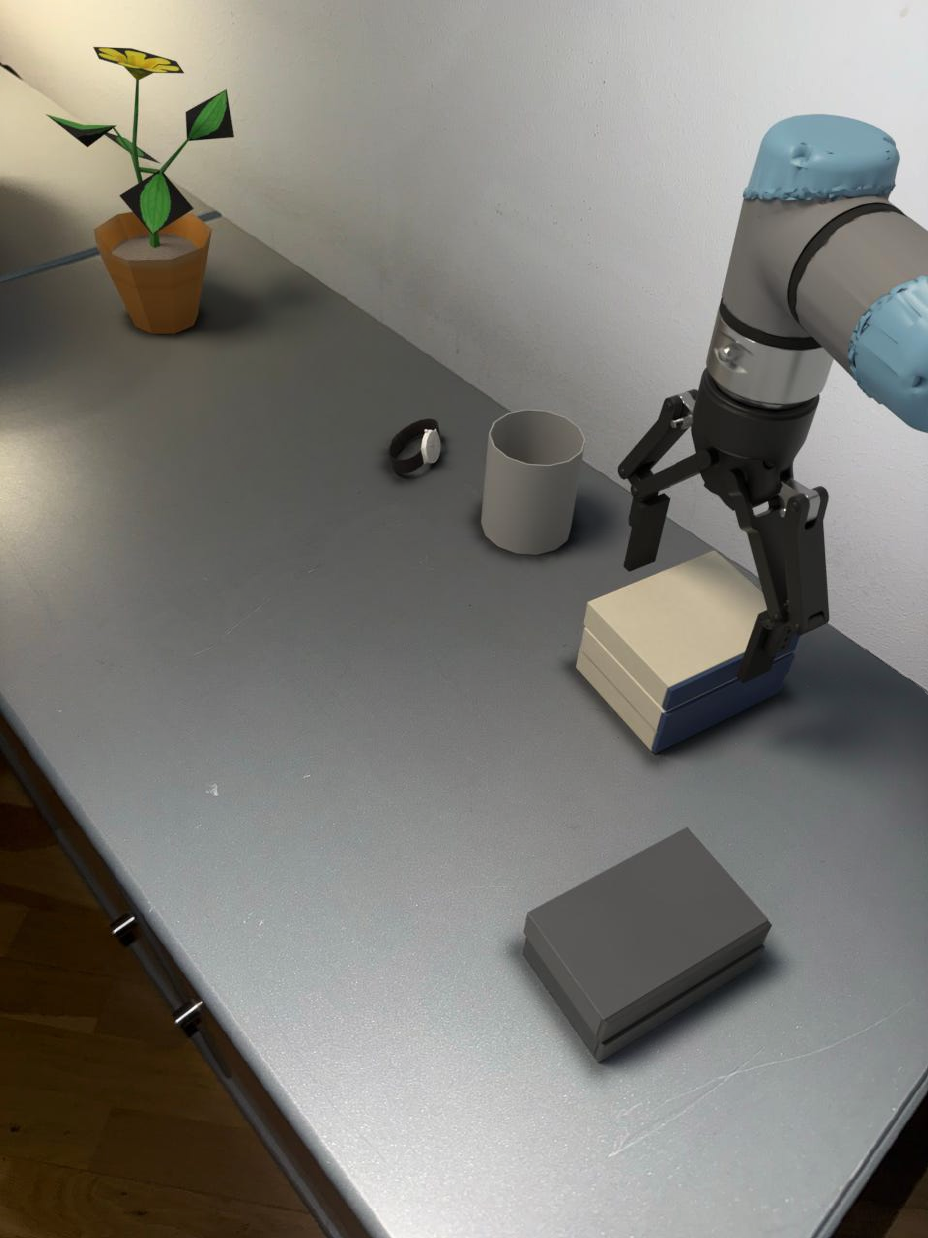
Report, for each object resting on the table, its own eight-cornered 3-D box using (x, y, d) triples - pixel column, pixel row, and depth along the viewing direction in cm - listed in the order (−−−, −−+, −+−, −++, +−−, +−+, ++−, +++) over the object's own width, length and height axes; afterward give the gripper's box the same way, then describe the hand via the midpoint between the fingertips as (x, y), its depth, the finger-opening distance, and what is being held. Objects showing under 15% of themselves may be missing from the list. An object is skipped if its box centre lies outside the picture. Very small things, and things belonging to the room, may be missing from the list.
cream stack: (780, 695, 89) (797, 652, 85) (654, 757, 83) (666, 715, 80) (696, 614, 95) (709, 572, 91) (574, 668, 89) (582, 625, 86)
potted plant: (250, 356, 120) (223, 65, 99) (73, 360, 117) (6, 62, 96) (250, 277, 132) (226, 4, 111) (90, 280, 130) (34, 0, 108)
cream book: (794, 651, 85) (803, 628, 83) (665, 712, 80) (672, 690, 78) (708, 572, 91) (714, 549, 89) (582, 624, 86) (587, 601, 84)
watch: (421, 484, 105) (422, 454, 103) (376, 472, 106) (377, 441, 104) (450, 442, 111) (452, 412, 108) (408, 430, 112) (408, 400, 109)
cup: (463, 516, 102) (470, 427, 95) (530, 486, 106) (541, 399, 99) (520, 566, 98) (532, 477, 91) (588, 533, 102) (604, 445, 95)
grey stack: (756, 964, 72) (776, 926, 68) (596, 1064, 66) (609, 1028, 63) (674, 866, 76) (688, 825, 73) (519, 952, 71) (526, 912, 68)
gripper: (598, 302, 75) (561, 537, 90) (866, 506, 60) (768, 746, 75) (682, 279, 78) (632, 510, 93) (956, 469, 63) (845, 706, 78)
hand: (693, 616), depth 84 cm, fingers open, 13 cm apart
